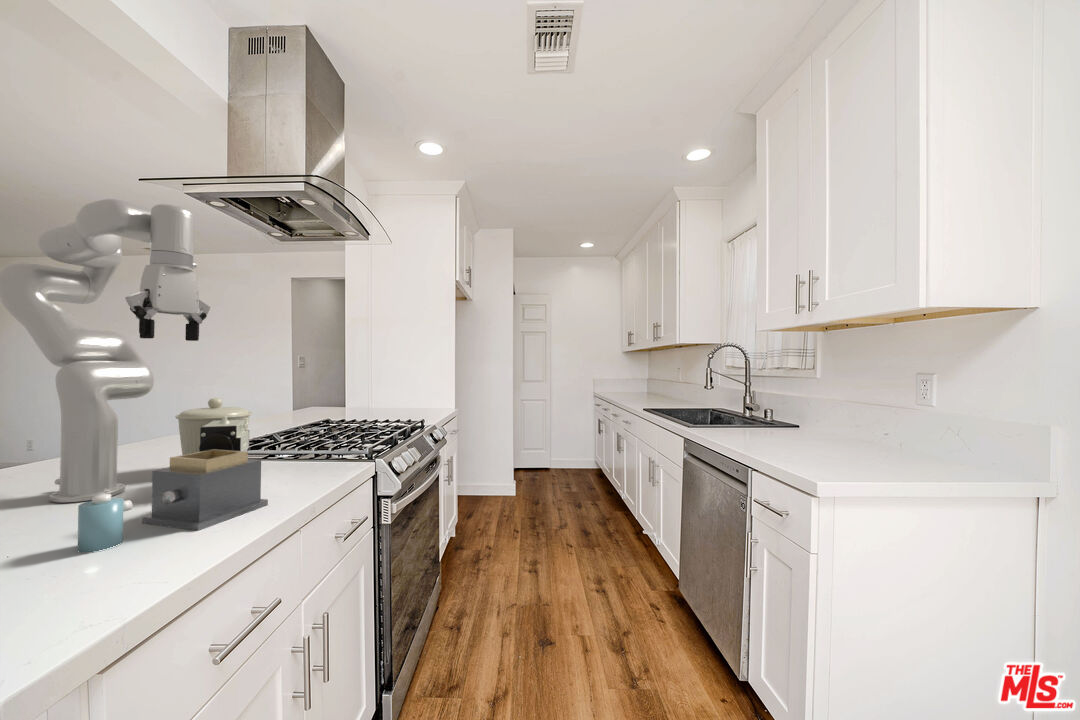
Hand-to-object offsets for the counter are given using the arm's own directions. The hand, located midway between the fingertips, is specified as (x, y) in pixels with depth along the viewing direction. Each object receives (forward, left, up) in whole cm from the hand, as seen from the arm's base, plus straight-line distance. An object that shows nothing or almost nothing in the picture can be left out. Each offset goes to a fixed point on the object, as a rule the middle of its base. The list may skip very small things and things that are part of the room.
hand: (170, 339), depth 100 cm
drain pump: (+12, -20, -37) cm, 44 cm away
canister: (-19, +27, -37) cm, 50 cm away
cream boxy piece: (-2, +16, -37) cm, 40 cm away
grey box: (+14, -2, -37) cm, 39 cm away
